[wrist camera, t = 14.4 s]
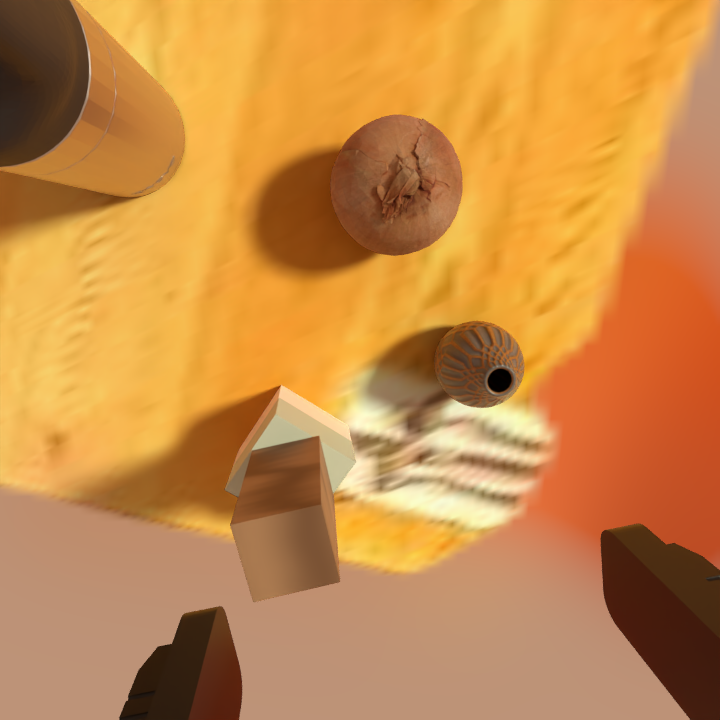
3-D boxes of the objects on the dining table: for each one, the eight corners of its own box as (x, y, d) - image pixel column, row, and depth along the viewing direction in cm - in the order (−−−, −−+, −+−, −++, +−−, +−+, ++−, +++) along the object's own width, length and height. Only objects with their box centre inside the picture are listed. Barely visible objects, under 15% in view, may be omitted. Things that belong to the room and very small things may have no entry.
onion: (415, 270, 43) (444, 279, 34) (310, 226, 42) (310, 222, 32) (462, 160, 42) (507, 137, 32) (355, 110, 40) (369, 68, 30)
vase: (425, 392, 46) (450, 427, 37) (428, 315, 44) (455, 333, 36) (500, 391, 46) (542, 425, 38) (506, 315, 45) (551, 333, 36)
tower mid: (232, 466, 42) (224, 489, 38) (279, 397, 41) (275, 414, 37) (305, 507, 43) (304, 534, 39) (351, 441, 42) (355, 462, 38)
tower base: (239, 448, 46) (232, 467, 42) (281, 384, 45) (278, 398, 41) (305, 485, 47) (305, 508, 43) (348, 424, 46) (351, 441, 42)
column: (268, 510, 39) (253, 602, 29) (252, 450, 37) (230, 524, 28) (333, 495, 39) (340, 581, 29) (319, 435, 38) (321, 504, 28)
